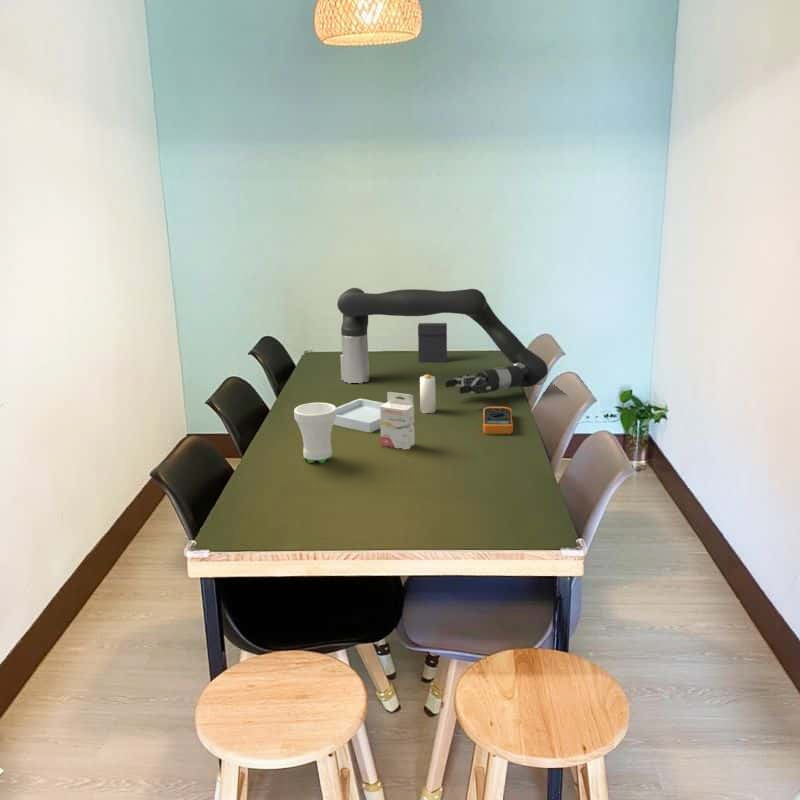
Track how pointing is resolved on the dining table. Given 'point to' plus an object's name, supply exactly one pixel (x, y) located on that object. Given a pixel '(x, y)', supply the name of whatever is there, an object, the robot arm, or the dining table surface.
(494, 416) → the multimeter
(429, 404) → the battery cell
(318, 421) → the cup
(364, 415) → the pale blue square tray
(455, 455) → the dining table surface
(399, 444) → the ink cartridge box
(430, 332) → the dark grey box
